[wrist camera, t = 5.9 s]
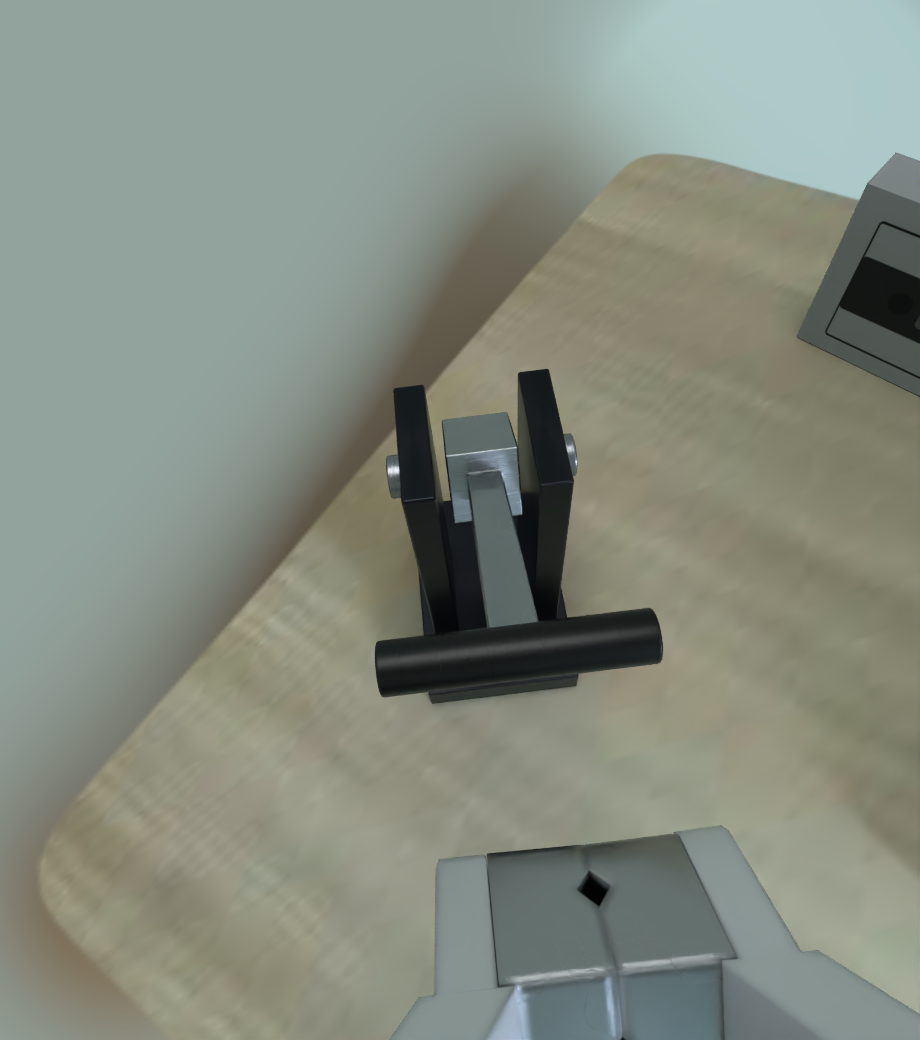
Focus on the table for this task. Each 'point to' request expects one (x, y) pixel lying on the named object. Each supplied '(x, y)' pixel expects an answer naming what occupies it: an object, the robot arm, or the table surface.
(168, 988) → the table surface
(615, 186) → the table surface
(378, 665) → the lever
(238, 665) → the table surface
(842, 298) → the cassette player
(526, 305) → the table surface
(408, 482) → the bracket
